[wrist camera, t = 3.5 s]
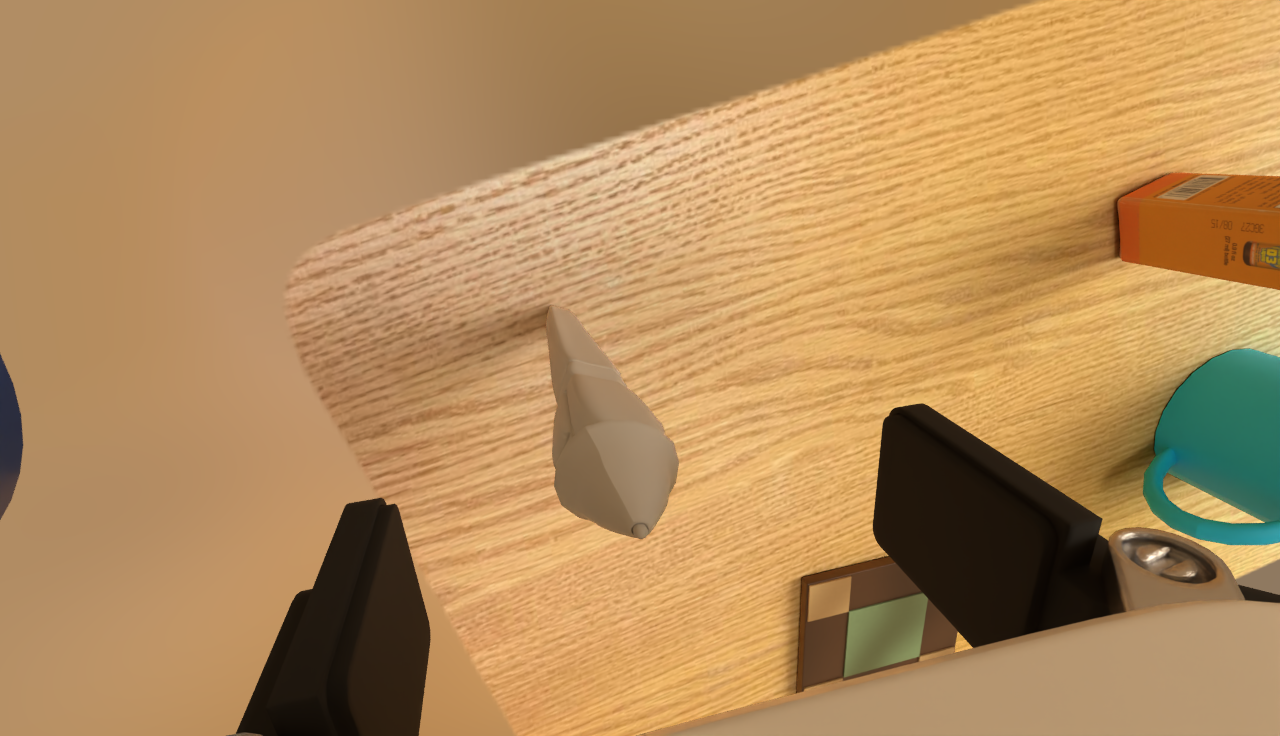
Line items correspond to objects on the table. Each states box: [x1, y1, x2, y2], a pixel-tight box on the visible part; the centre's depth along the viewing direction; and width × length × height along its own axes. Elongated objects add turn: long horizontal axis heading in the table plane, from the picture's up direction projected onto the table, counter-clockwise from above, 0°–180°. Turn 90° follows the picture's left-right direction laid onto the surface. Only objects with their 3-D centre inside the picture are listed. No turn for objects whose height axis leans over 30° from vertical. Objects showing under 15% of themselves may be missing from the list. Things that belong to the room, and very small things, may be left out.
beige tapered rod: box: [546, 305, 679, 539], centre depth 17 cm, size 2×3×14 cm
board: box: [797, 556, 958, 693], centre depth 34 cm, size 10×10×1 cm
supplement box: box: [1117, 173, 1280, 290], centre depth 24 cm, size 3×3×10 cm
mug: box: [1143, 349, 1280, 545], centre depth 31 cm, size 12×8×8 cm
